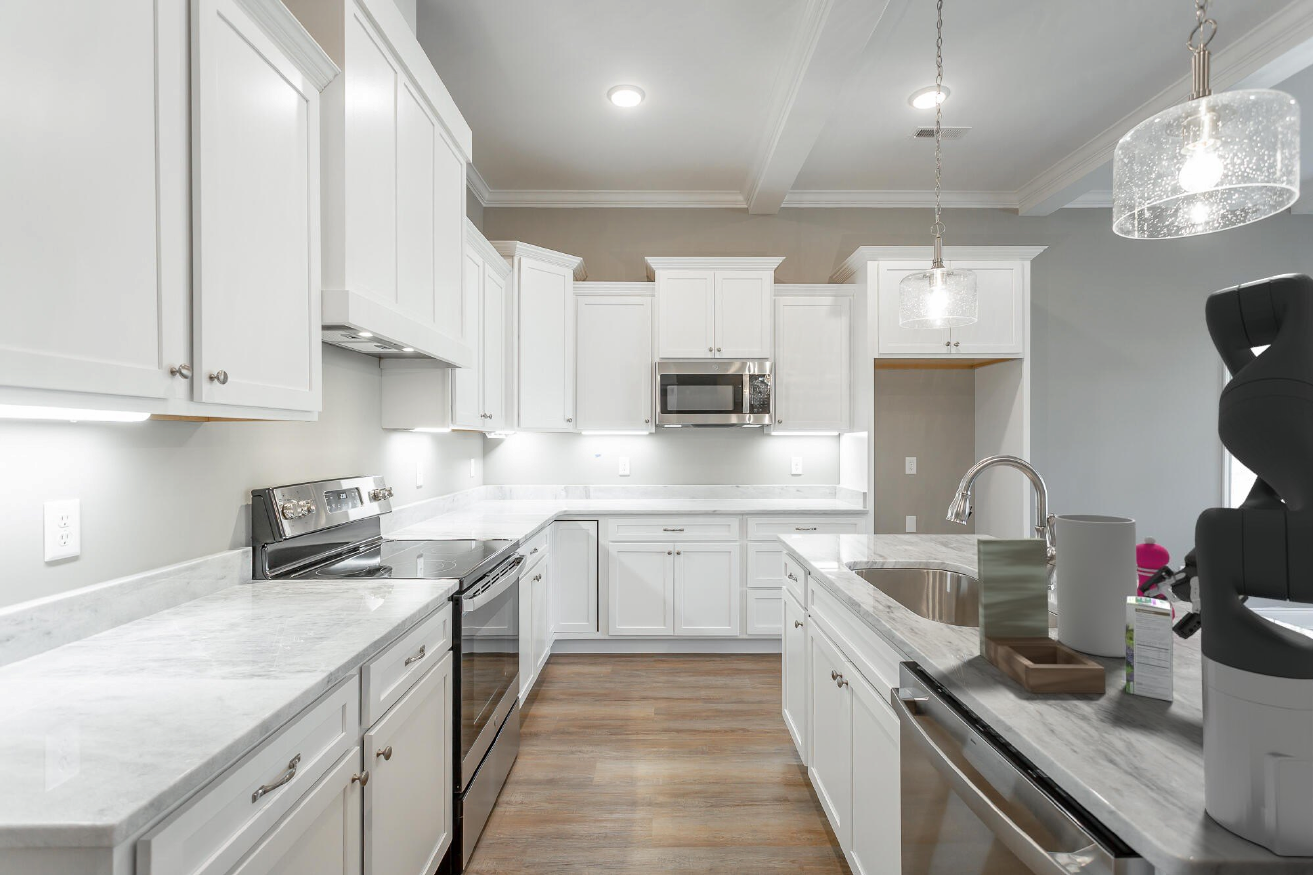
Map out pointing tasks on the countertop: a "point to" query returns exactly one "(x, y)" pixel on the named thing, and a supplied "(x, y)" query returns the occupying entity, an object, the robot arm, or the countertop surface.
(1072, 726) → the countertop surface
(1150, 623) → the syrup box
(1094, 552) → the cylinder vase
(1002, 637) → the wooden tray stand
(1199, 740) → the countertop surface
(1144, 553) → the pepper mill
